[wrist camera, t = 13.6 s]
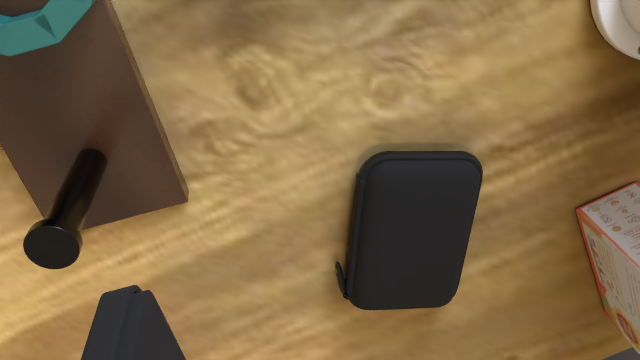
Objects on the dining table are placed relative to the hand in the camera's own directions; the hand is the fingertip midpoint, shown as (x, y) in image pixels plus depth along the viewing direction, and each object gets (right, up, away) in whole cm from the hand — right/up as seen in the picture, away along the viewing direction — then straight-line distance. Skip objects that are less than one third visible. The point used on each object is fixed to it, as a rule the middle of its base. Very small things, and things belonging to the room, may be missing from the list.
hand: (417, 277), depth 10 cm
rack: (-19, +10, +27) cm, 34 cm away
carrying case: (+5, -2, +37) cm, 37 cm away
